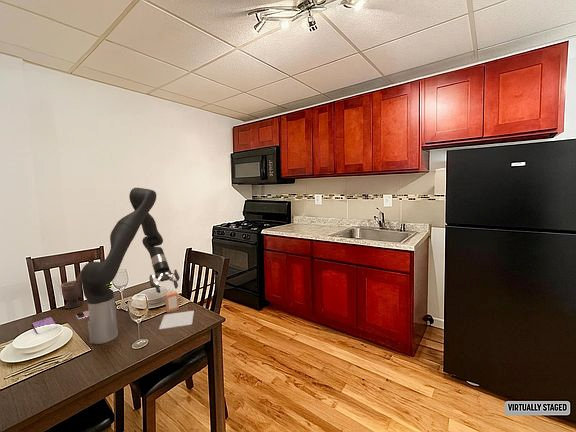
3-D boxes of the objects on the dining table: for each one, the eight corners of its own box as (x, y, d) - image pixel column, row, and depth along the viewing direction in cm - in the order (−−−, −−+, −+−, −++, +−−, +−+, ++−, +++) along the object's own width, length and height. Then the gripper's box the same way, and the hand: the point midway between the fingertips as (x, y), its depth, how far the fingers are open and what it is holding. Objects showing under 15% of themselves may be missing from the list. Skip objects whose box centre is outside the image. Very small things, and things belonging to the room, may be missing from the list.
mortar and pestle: (88, 299, 155) (84, 266, 152) (92, 303, 149) (87, 269, 147) (62, 306, 146) (58, 271, 144) (65, 311, 141) (60, 274, 138)
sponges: (51, 320, 132) (51, 316, 132) (57, 328, 125) (57, 324, 124) (32, 326, 127) (31, 322, 127) (37, 335, 119) (36, 331, 119)
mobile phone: (75, 313, 136) (109, 303, 147) (75, 315, 137) (109, 305, 148) (78, 318, 131) (113, 307, 142) (78, 320, 131) (113, 309, 142)
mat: (158, 329, 120) (158, 329, 120) (164, 315, 133) (164, 314, 133) (191, 324, 124) (191, 324, 124) (194, 311, 137) (194, 310, 137)
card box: (166, 311, 138) (164, 294, 137) (177, 307, 142) (175, 291, 141) (167, 312, 136) (166, 295, 135) (178, 309, 140) (177, 292, 139)
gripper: (146, 263, 142) (154, 290, 135) (174, 258, 151) (183, 283, 144) (145, 270, 147) (152, 297, 139) (172, 265, 156) (180, 289, 148)
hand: (168, 290), depth 142 cm, fingers open, 8 cm apart
